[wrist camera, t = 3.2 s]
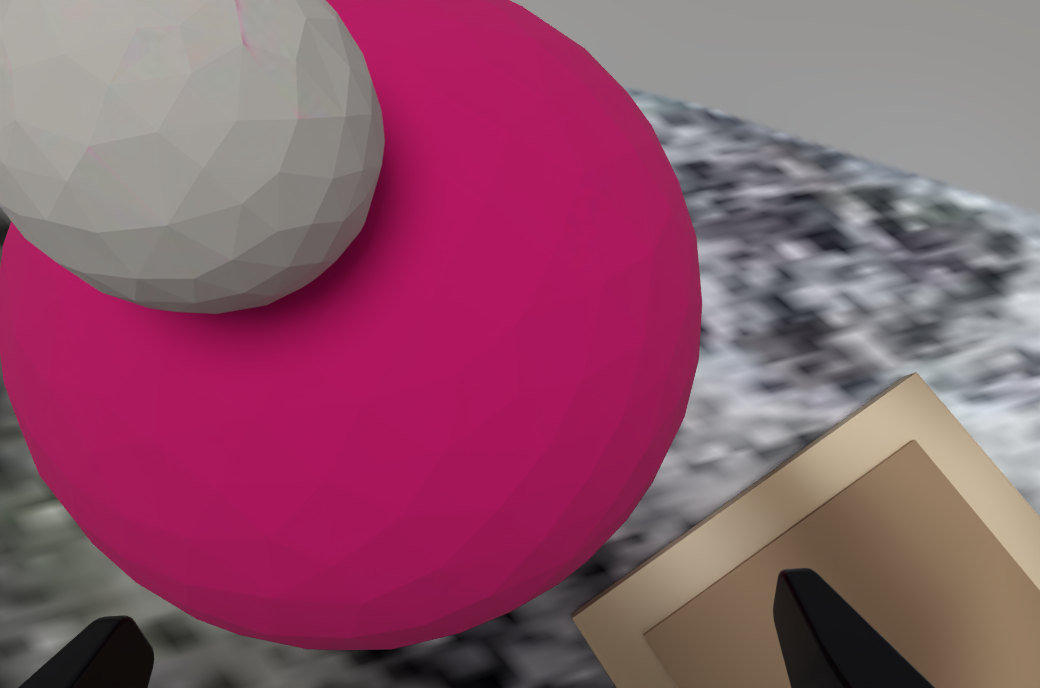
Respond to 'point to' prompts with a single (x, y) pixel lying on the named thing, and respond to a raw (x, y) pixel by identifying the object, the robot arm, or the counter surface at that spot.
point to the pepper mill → (337, 303)
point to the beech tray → (844, 561)
